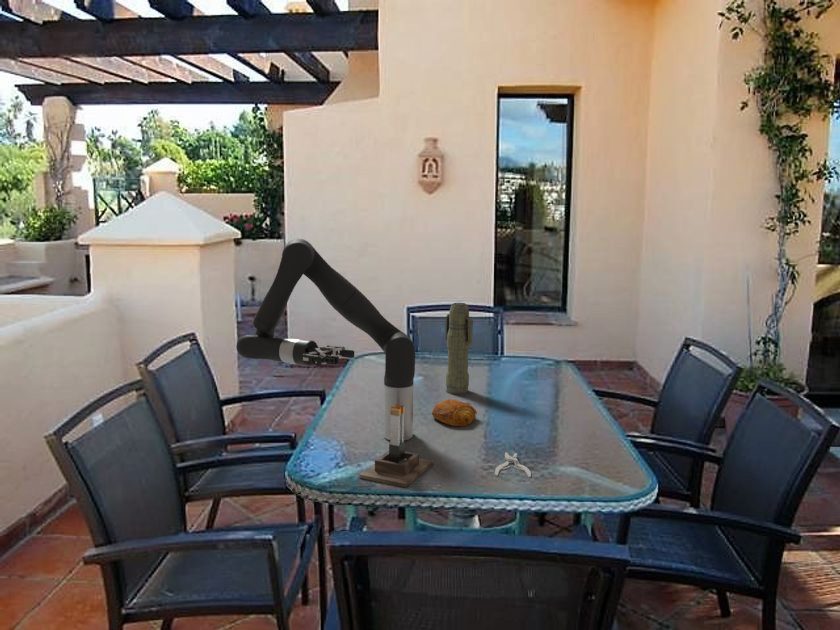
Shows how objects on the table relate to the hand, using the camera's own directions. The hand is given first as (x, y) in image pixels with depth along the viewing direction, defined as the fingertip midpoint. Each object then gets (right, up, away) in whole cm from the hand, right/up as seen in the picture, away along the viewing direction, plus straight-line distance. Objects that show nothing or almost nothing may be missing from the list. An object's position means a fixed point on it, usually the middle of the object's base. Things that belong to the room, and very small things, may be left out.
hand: (346, 357), depth 197 cm
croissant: (+33, -24, +40) cm, 57 cm away
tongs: (+15, -30, -5) cm, 34 cm away
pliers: (+47, -32, 0) cm, 57 cm away
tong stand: (+15, -31, -5) cm, 35 cm away
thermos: (+36, -18, +74) cm, 85 cm away
